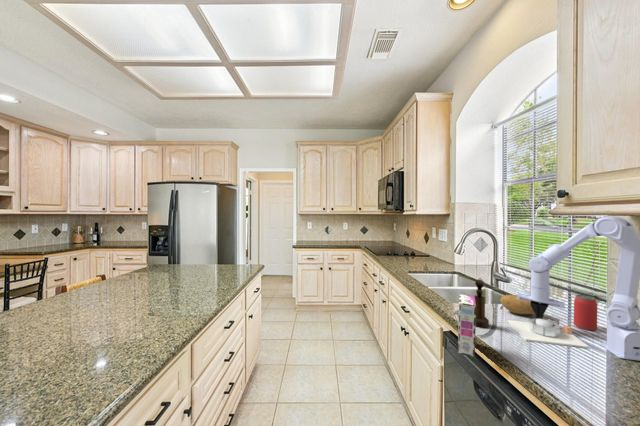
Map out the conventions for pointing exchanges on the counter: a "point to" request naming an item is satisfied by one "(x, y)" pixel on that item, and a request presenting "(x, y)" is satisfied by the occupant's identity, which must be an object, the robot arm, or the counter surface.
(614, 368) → the counter surface
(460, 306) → the candy bar box
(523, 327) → the base
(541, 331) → the elbow collar
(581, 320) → the beer can
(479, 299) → the pepper mill
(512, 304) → the potato
